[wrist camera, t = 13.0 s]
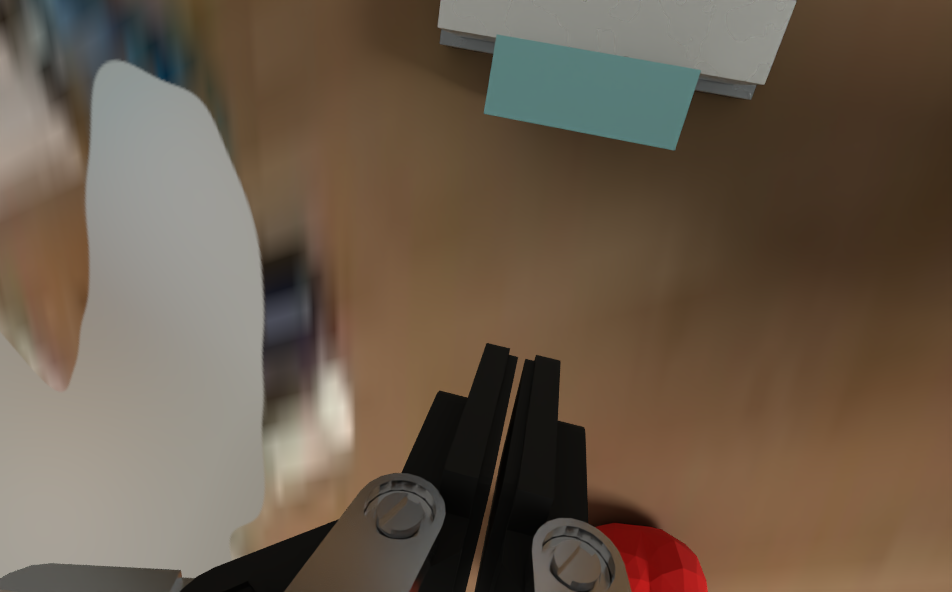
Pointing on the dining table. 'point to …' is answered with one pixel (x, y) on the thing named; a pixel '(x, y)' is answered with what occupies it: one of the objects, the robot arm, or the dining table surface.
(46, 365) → the dining table surface
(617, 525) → the tomato
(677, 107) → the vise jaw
